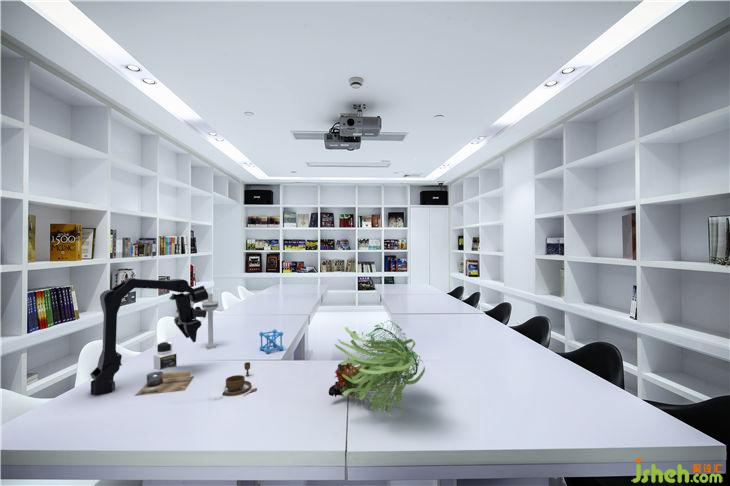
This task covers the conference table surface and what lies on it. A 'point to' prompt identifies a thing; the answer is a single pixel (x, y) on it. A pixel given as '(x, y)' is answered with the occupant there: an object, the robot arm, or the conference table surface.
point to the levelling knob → (164, 377)
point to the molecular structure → (271, 341)
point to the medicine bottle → (164, 356)
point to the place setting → (238, 383)
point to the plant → (377, 369)
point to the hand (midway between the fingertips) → (191, 339)
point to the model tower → (210, 319)
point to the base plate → (167, 386)
